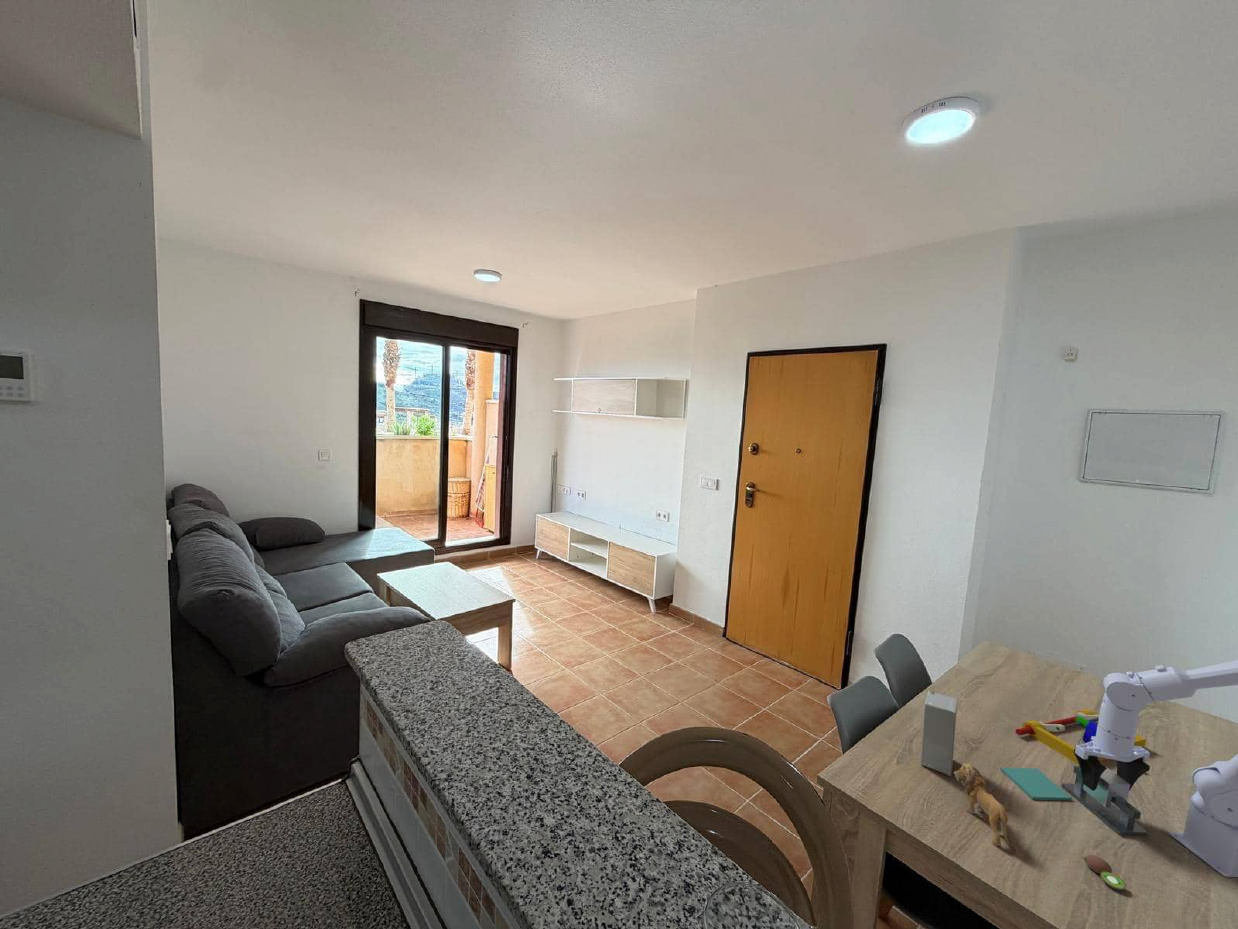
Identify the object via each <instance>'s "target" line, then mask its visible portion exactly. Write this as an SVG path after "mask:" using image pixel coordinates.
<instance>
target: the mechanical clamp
mask: <svg viewBox="0 0 1238 929" xmlns="http://www.w3.org/2000/svg"><path fill="white" fill-rule="evenodd" d="M1099 715H1100V714H1097V713H1096V712H1095V711H1093V710H1092V709H1088V708H1086V709H1081V710H1077V711H1076V712H1075V713H1074V714H1073V716H1072V717H1067V718H1063V719H1058V720H1054V721H1053V720H1052V721H1049V722H1042V721H1037V720H1030V721H1024V722H1023V723H1022V726H1021V728H1016V729H1015V733H1016V734H1017V735H1018V736H1024V735H1028V736H1031V737H1032V738H1034V739H1036V740H1037V741H1039V742H1040V743H1042V744H1044V745H1045V746H1047V747H1049V748H1051V749H1052V750H1054V751H1056V752H1057V753H1058V754H1061V755H1062V756H1064V757H1066V758H1067V759H1069V760H1070V761H1072V762H1074V763H1076V765H1079V763H1078V760H1077V758H1076V756H1075V754H1074V748H1076V746H1074V745H1072V744H1070V743H1068V742H1067V741H1065V740H1063V739H1061V738H1059V737H1058V736H1056V735H1054V734H1053V733H1051V732H1054V733H1055V732H1056V733H1057V732H1064V731H1066V729H1069V728H1074V727H1080V728H1083V729H1085V730H1084V731H1083V732H1084V733H1083V734H1082V735H1083V736H1082V742H1083V743H1084V744H1085V743H1088V742H1091V741H1092V740H1091V737H1092V736H1096V732H1097V726H1098V720H1099ZM1146 743H1147V738H1145V737H1143V736H1140V735H1138V734H1137V733H1136V736H1135V742H1134V746H1140V747H1142V748H1143V749H1145V747H1146ZM1098 760H1099V761H1100V762H1101V761H1105V760H1109V759H1108V758H1100V757H1098Z"/></svg>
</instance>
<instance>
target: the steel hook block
mask: <svg viewBox="0 0 1238 929" xmlns="http://www.w3.org/2000/svg"><path fill="white" fill-rule="evenodd" d="M1105 767H1106V768H1107V769H1106V770H1105V771H1104V772H1103V773H1102V775H1101V776H1100V778H1099V782H1098V785H1097V788H1096V790H1095V791H1092V790H1090V789H1089V788H1088V787H1087V786H1085V785H1084V786H1083V790H1085V791H1086V792H1087V793H1088V794H1090V795H1091V796H1092V797H1093V798H1095V799H1096V800H1097V801H1098V802H1099V803H1101V804H1102V805H1103V806H1104V807H1110V804H1112V802H1111V799H1112V797H1122V798H1123V799H1124V800H1125V801H1127V802H1128V798H1129V793H1130V790H1129V788H1130V784H1129V783H1128V782H1126V781H1125V780H1123V779H1122V778H1121V777H1119V776H1118V775H1117V773H1116V772H1114V771H1113V770H1111V769H1110V768H1108V767H1107V766H1105Z"/></svg>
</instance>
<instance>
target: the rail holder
mask: <svg viewBox="0 0 1238 929" xmlns="http://www.w3.org/2000/svg"><path fill="white" fill-rule="evenodd" d="M1072 771H1073V773H1074V774H1075V779H1074V783H1065V782H1063V783H1061V786H1060V788H1061V789H1063V790H1065V791H1066V792H1067V793H1068V794H1070V795H1071V797H1073V798H1074V799H1075V800H1077V801H1078V802H1079V803H1080V804H1082V805H1083V807H1085V809H1087V810H1088V811H1090V812H1091V813H1092V814H1093V815H1094V816H1096V817H1097V819H1099V820H1100V821H1101V822H1103V823H1104V824H1105V826H1108V827H1109V829H1111V830H1112V831H1113V832H1114V833H1116V834H1117V835H1118V836H1131V837H1133V836H1134V837H1135V836H1137V837H1148V830H1145V828H1143V827H1141V825H1139V824H1138V823H1137V822H1136V820H1140V819H1141V815H1142V812H1141V811H1140V810H1138V809H1137V808H1136V807H1135V806H1134V805H1132V804H1131V803H1129V801H1128V800H1127V801H1125V800H1124V799H1123V798H1122V797H1112V799H1111V804H1110V807H1104V806H1103V805H1102V804H1101V803H1099V802H1098V801H1097V800H1096V799H1095V798H1093V797H1092V796H1091V795H1090V794H1088V793H1087V792H1086V791H1085V790H1083V786H1084V784H1083V779H1082V773H1081V769H1080V766H1079V765H1074V766H1073V770H1072Z"/></svg>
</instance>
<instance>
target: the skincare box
mask: <svg viewBox="0 0 1238 929" xmlns="http://www.w3.org/2000/svg"><path fill="white" fill-rule="evenodd" d="M958 701H959V700H958V698H954V697H952V696H948V695H945V694H944V695H943V694H940V693H938V692H934V691H931V690H928V691H927V695H925V702H924V709H923V710H924V711H923V721H922V722H923V723H922V736H921V751H920V752H921V753H920V765H922V766H924V767H926V768H929V769H931V770H934V771H937V772H939V773H941V774H944V775H947V776H949V777H951V776H952V773H953V763H954V752H955V751H954V748H955V737H956V722H957V711H958Z"/></svg>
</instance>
